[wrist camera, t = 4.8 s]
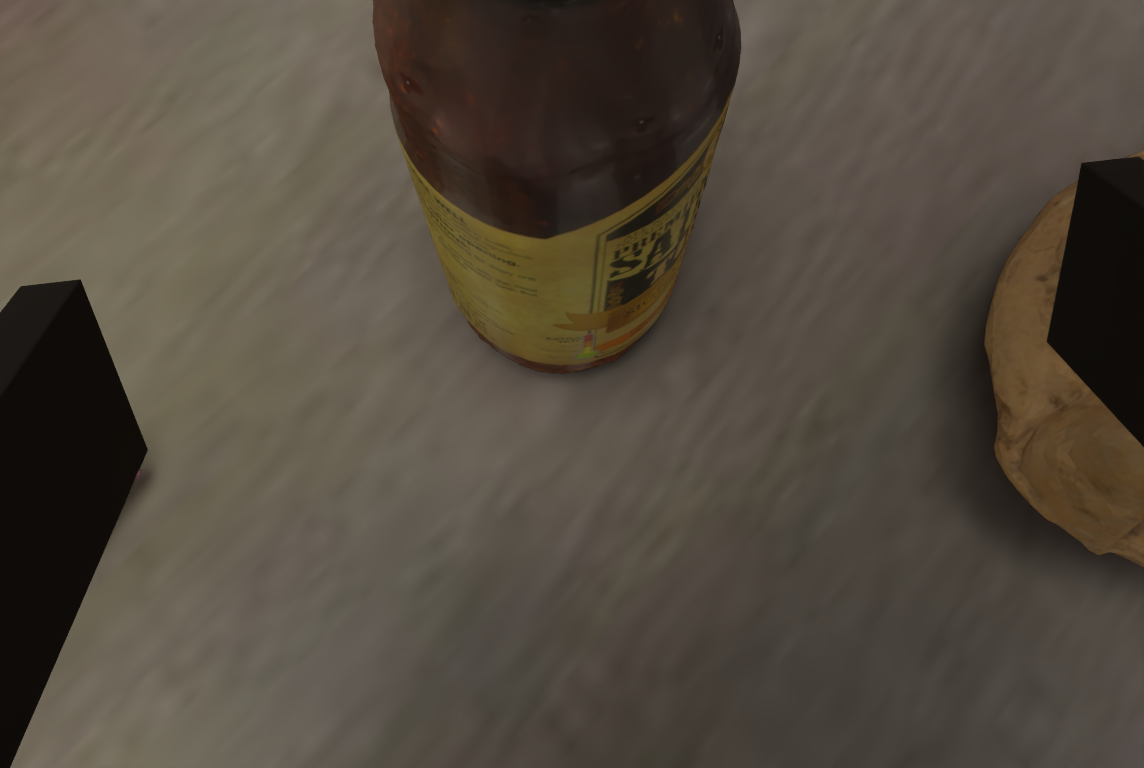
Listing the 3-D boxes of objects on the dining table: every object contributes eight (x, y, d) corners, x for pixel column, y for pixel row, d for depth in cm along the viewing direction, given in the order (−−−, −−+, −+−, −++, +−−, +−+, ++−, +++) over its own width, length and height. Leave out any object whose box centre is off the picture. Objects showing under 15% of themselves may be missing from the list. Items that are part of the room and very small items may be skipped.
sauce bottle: (640, 406, 28) (783, -9, 9) (424, 347, 29) (101, -179, 9) (699, 190, 30) (939, -590, 10) (491, 136, 30) (333, -720, 10)
